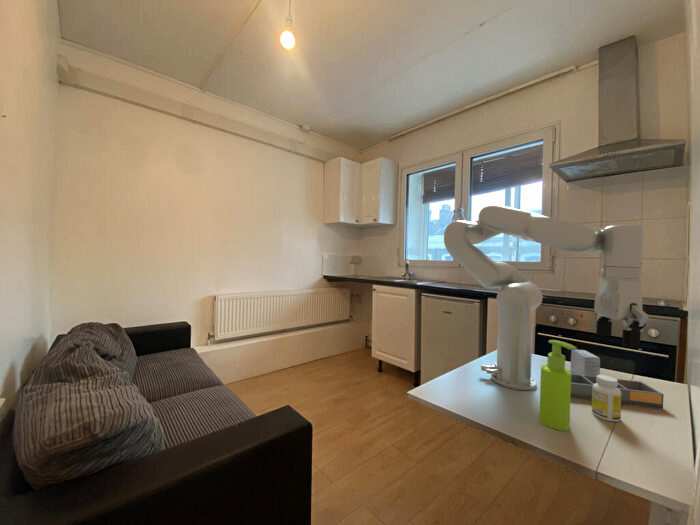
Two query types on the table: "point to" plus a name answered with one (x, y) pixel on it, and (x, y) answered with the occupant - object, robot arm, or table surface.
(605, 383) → the supplement bottle
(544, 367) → the soap dispenser
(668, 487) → the table surface
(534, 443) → the table surface
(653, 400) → the rack
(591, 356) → the medicine box
